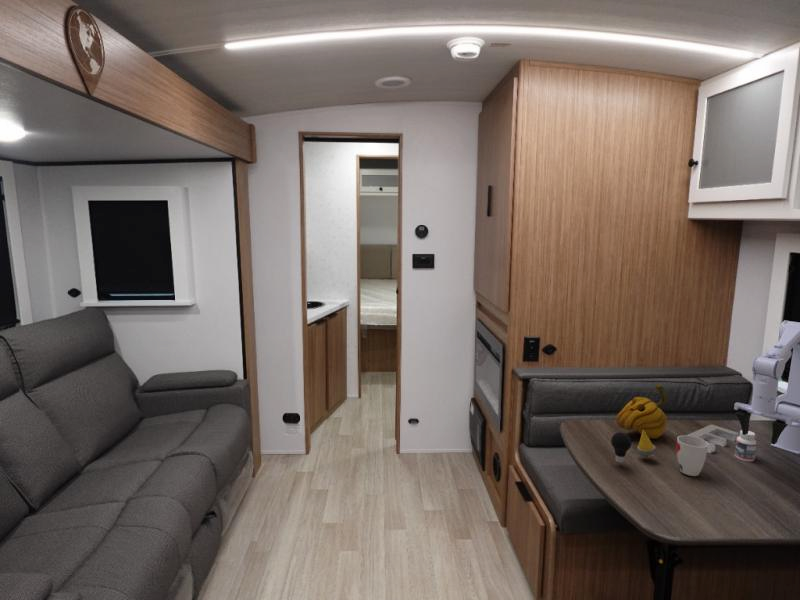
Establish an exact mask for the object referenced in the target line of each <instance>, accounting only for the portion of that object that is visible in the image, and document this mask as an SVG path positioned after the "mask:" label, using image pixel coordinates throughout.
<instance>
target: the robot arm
mask: <svg viewBox="0 0 800 600" xmlns="http://www.w3.org/2000/svg"><path fill="white" fill-rule="evenodd" d="M778 334H779V340H778V342H777V343H773V344H771V345H770V346H769V347H768V349H766V350H765V352H764V354H763V355H762V356H759V357H755V358H754V360H753V361H752V366H751V371H752V380H753V387H752V399H751V404H746V403H742V402H735V403H734V407H733V410H735V411H736V412H735V415H736V417H737V418H738V421H739V423H740V426H741V430H742V434H743V435H746V434H748V431H750V430H749V428H750V419H751V417H752V415H756V416H758V417H763V418H767V419H770V420H774V421H773V422H772V423H771V424H772V436H771V440H770V441H771V444H770V446H772V447H774V448H778V449H780V450H784V451H787V452H790V453H794V454H797V455H800V322H798V321H790V320H785V319H784V320H783V321H782V322H781V323H780V326H779V330H778ZM792 349H793V350H792ZM789 359H791V362H790V370H789V374H788V375H789V376H788V380H787V381H788V382H787V388H786V392H785V393H783V394H780V395H778V394H777V393H778V388H779V381H780V379H781V377H782V376H783V373H784V371H785V367H786V363H787V362H788V361H789ZM777 395H778V396H777Z"/></svg>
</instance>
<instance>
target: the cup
mask: <svg viewBox="0 0 800 600" xmlns="http://www.w3.org/2000/svg"><path fill="white" fill-rule="evenodd" d="M707 442H708V441H707ZM707 442H706V441H704V440H702V439H700V438H697V437H692V436H686V435H679V436H677V438H676V455H677V456H676V457H677V464H678V467H679V472H680V473H682V474H683V475H687V476H689V477H690V476H691V477H697V476H699V475H700V474H701V471H702V470H703V468H704V464H705V463H706V458H707V454H708V452H707V449H708V443H707Z"/></svg>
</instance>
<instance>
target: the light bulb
mask: <svg viewBox="0 0 800 600" xmlns="http://www.w3.org/2000/svg"><path fill="white" fill-rule="evenodd" d="M610 444H611V446H612V447H613V449H614V455H615V462H617V463H618V464H622V463H624V462H625V456H626V454H627V452H628V450H629V449H630V448H631V446H632V440H631V437H630V436H629V435H628V434H627V433H625V432H616V433H614V434H612V436H611V438H610Z"/></svg>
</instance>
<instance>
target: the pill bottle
mask: <svg viewBox="0 0 800 600" xmlns="http://www.w3.org/2000/svg"><path fill="white" fill-rule="evenodd" d="M755 438H756V434H755V432H753V431H751V430H748V434H746V435H743V434H742V429H741V430H739V435H738V437H737V440H736V441H735V442H736V443H735V451H734V457H735V458H737V459H738V460H740V461H743V462H753V461H755V458H756V450H757V440H756V439H755Z"/></svg>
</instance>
